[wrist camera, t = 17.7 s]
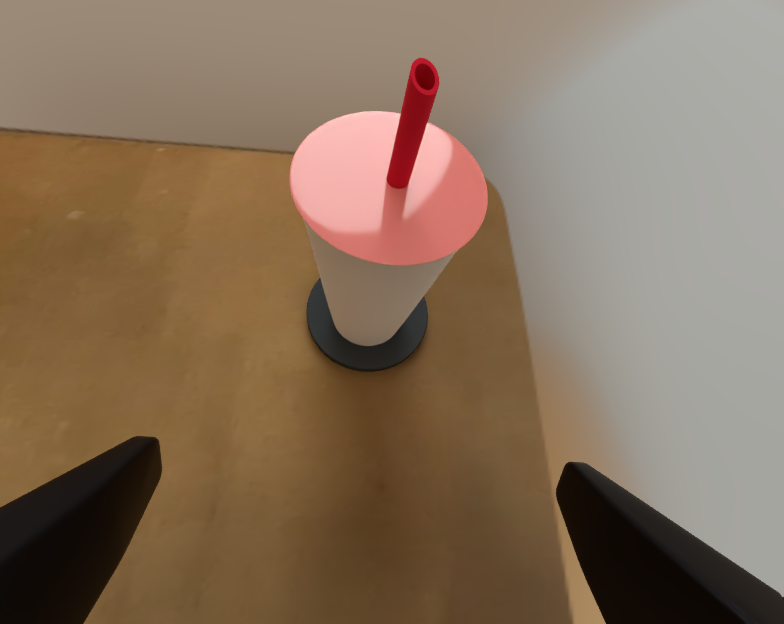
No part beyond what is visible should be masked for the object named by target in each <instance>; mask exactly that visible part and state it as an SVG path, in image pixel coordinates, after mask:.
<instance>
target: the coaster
mask: <svg viewBox="0 0 784 624" xmlns="http://www.w3.org/2000/svg"><path fill="white" fill-rule="evenodd" d="M427 320H428V313H427V306H426V301H425V299H424V296H423V298H422V299H421V300H420V302H419V303H418V304H417V306H416V307H415V308H414V310H413V311H412V312H411V314H410V315H409V316H408V318H407V319H406V320H405V322H404V323H403V324H402V325H401V326H400V328H399V329H398V330H397V332H396V333H395V334H394V335H393V336H392V337H391V338H390V339H389V340H387V341H386V342H384V343H381V344H378V345H374V346H362V345H357V344H354V343H352V342H350V341H348V340H347V339H345V338H344V337H343V336H342V335H341V334H340V333H339V332H338V330H337V329H336V327H335V325H334V322H333V319H332V315H331V312H330V310H329V306H328V303H327V300H326V296H325V293H324V289H323V286H322V282H321V279H319V280H318V281H317V282H316V284H315V285H314V287H313V289H312V291H311V293H310V296H309V299H308V303H307V322H308V326H309V330H310V333H311V336H312V338H313V340H314V341H315V343H316V345H317V346H318V347H319V349H320V350H321V351H322V352H323V353H324V354H325V355H326V356H327V357H329V358H330V359H331V360H333V361H334V362H336V363H338V364H340V365H342V366H344V367H347V368H350V369H354V370H359V371H378V370H383V369H387V368H390V367H393V366H395V365H397V364H399V363H401V362H402V361H404V360H405V359H406V358H408V357H409V356H410V355H411V354H412V353H413V352H414V351H415V349H416V348H417V347H418V345H419V344H420V342H421V340H422V338H423V336H424V334H425V331H426V327H427Z"/></svg>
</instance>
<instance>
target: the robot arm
mask: <svg viewBox="0 0 784 624" xmlns="http://www.w3.org/2000/svg"><path fill="white" fill-rule="evenodd" d="M161 473H162V463H161V454H160V444H159V441H158V439H157V438H155V437H145V436H136V437H133V438H131V439H129V440H127V441H125V442H123V443H121V444H119V445H117V446H115V447H114V448H112V449H110V450H108V451H106V452H104V453H102V454H100V455H98V456H97V457H95V458H93V459H91V460H89V461H87V462H85V463H83V464H81V465H80V466H78V467H76V468H74V469H72V470H70V471H68V472H66V473H65V474H63V475H61V476H59V477H57V478H55V479H53V480H51V481H49V482H48V483H46V484H44V485H42V486H40V487H38V488H36V489H34V490H32V491H31V492H29V493H27V494H25V495H23V496H21V497H19V498H17V499H15V500H14V501H12V502H10V503H8V504H6V505H4V506H2V507H0V624H83V623H84V622H85V620H86V618H87V617H88V615H89V613H90V612H91V610H92V608H93V607H94V605H95V603H96V602H97V600H98V598H99V597H100V595H101V593H102V591H103V590H104V588H105V586H106V585H107V583H108V581H109V580H110V578H111V576H112V575H113V573H114V571H115V570H116V568H117V566H118V564H119V563H120V561H121V559H122V557H123V555H124V553H125V551H126V549H127V547H128V545H129V543H130V541H131V539H132V537H133V535H134V533H135V531H136V529H137V526H138V524H139V522H140V520H141V518H142V516H143V514H144V512H145V510H146V508H147V505H148V503H149V501H150V499H151V497H152V495H153V493H154V491H155V489H156V487H157V484H158V482H159V480H160V477H161ZM556 497H557V501H558V504H559V507H560V510H561V513H562V515H563V518H564V521H565V524H566V527H567V530H568V533H569V535H570V538H571V541H572V544H573V547H574V550H575V552H576V555H577V558H578V561H579V563H580V566H581V568H582V571H583V573H584V576H585V578H586V580H587V583H588V585H589V587H590V589H591V592H592V594H593V596H594V598H595V600H596V603H597V605H598V607H599V609H600V611H601V614H602V616H603V618H604V620H605V622H606V624H784V597H782V596H781V595H780V593H778V592H777V591H776V590H774V589H773V588H771V587H769V586H768V585H766V584H765V583H764V582H762V581H761V580H759V579H757V578H756V577H755V576H753V575H752V574H750V573H749V572H747V571H746V570H744V569H743V568H741V567H740V566H738V565H737V564H735V563H734V562H732V561H731V560H729V559H728V558H726V557H725V556H723V555H722V554H720V553H719V552H717V551H716V550H714V549H713V548H712V547H710V546H708V545H707V544H706V543H704V542H702V541H701V540H700V539H698V538H697V537H695V536H694V535H692V534H691V533H689V532H688V531H686V530H685V529H683V528H682V527H680V526H679V525H677V524H676V523H674V522H673V521H671V520H670V519H668V518H667V517H665V516H664V515H662V514H661V513H659V512H658V511H656V510H655V509H653V508H652V507H650V506H649V505H648V504H646V503H645V502H643V501H642V500H640V499H639V498H637V497H636V496H634V495H633V494H631V493H630V492H628V491H627V490H625V489H624V488H622V487H621V486H619V485H618V484H616V483H615V482H613V481H612V480H610V479H609V478H607V477H606V476H604V475H603V474H601V473H600V472H598V471H597V470H595V469H594V468H592V467H591V466H589V465H587V464H586V463H580V462H568V463H567V464H566V465H565V466H564V469H563V472H562V474H561V477H560V480H559V483H558V485H557V488H556Z"/></svg>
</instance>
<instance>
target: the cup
mask: <svg viewBox="0 0 784 624" xmlns="http://www.w3.org/2000/svg"><path fill="white" fill-rule="evenodd" d="M438 87H439V76H438V73H437V70H436V68H435V67H434V65H433V64H432V63H431V62H430V61H428V60H427V59H424V58H418V59H416V60H415V61H414V62H413V64H412V66H411V70H410V75H409V79H408V84H407V88H406V93H405V97H404V102H403V106H402V111H401V114H400V113H394V112H385V111H367V112H358V113H352V114H348V115H344V116H341V117H338V118H335V119H333V120H330V121H328V122H326V123H325V124H323V125H321V126H320V127H318V128H317V129H315V130H314V131H313V132H312V133H310V134H309V135H308V136H307V137H306V138H305V140H304V141H303V142H302V143H301V144H300V146H299V148H298V149H297V151H296V153H295V155H294V157H293V160H292V163H291V168H290V189H291V194H292V197H293V200H294V203H295V205H296V207H297V209H298V211H299V213H300V214H301V216H302V217H303V219H304V222H305V225H306V229H307V232H308V236H309V240H310V243H311V247H312V251H313V254H314V258H315V261H316V265H317V268H318V272H319V275H320V279H321V282H322V286H323V289H324V293H325V296H326V300H327V303H328V306H329V310H330V312H331V315H332V319H333V322H334V325H335V327H336V329H337V330H338V332H339V333H340V334H341V335H342V336H343V337H344V338H345V339H347V340H348V341H350V342H352V343H354V344H357V345H362V346H374V345H378V344H381V343H384V342H386V341H387V340H389V339H390V338H391V337H392V336H393V335H394V334H395V333H396V332H397V330H398V329H399V328H400V326H401V325H402V324H403V323H404V322H405V320H406V319H407V318H408V316H409V315H410V314H411V312H412V311H413V310H414V308H415V307H416V306H417V304H418V303H419V302H420V300H421V299H422V298H423V296H424V295H425V294H426V292H427V291H428V290H429V288H430V287H431V286H432V284H433V283H434V282H435V280H436V279H437V277H438V276H439V275H440V273H441V272H442V271H443V269H444V268H445V267H446V265H447V264H448V262H449V261H450V260H451V258H452V257H453V256H454V254H455V253H456V252H457V250H458V249H460V248H461V247H463V246H464V245H465V244H466V243H467V242H468V241H470V240H471V238H472V237H473V236H474V235H475V234H476V232H477V231H478V229H479V228H480V226H481V224H482V222H483V220H484V217H485V214H486V210H487V203H488V193H487V186H486V182H485V179H484V176H483V173H482V171H481V169H480V167H479V165H478V163H477V162H476V160H475V159H474V157H473V156H472V155H471V153H470V152H469V151H468V150H467V149H466V148H465V147H464V146H463V145H462V144H461V143H460V142H459V141H458V140H457V139H455V138H454V137H453V136H451V135H450V134H449V133H447V132H446V131H444V130H442V129H441V128H439V127H437V126H435V125H433V124H431V123H429V122H428V119H429V116H430V113H431V109H432V106H433V103H434V99H435V96H436V93H437V90H438Z"/></svg>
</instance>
